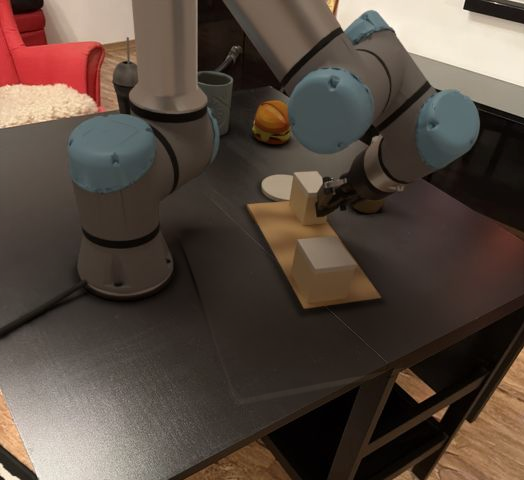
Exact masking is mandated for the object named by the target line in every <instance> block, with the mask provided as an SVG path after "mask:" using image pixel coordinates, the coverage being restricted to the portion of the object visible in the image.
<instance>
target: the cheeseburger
mask: <svg viewBox="0 0 524 480" xmlns="http://www.w3.org/2000/svg"><path fill="white" fill-rule="evenodd" d="M287 112H288V105H287V104H285V102H283V101H281V100H277V99H276V100H269V101H264V102H261V103H260V104H259V106H258V108H257V110H256V111H255V115H254V120H253V126H252V128H251V129H252V132H253V137H254V138H255V139H256V140H257V141H260V142H262V143H265V144H269V145H282V144H285V143H287V142H288V140H290V137H291V132H292V131H291V129H290V128H291V127H290V123H289V118H288V113H287Z"/></svg>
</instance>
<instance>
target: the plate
mask: <svg viewBox="0 0 524 480" xmlns="http://www.w3.org/2000/svg"><path fill="white" fill-rule="evenodd" d="M292 181H293V175H289V174H273V175H269V176H267V177H265V178H264V179H263V180H262V182H261V186H260V187H261V188H260V189H261V192H262V194H263V195H264V196H265V197H266V198H268V199H270V200H272V201H273V202H284V201H289V199H290V193H291V187H292Z"/></svg>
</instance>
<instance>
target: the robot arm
mask: <svg viewBox="0 0 524 480" xmlns="http://www.w3.org/2000/svg"><path fill="white" fill-rule="evenodd" d="M222 2H223V4H224V5H225V6H226V8H227V9H228V10H229V12H230V13H231V15H232V16H233V17H234V19H235V20H236V22H237V23H238V25H239V26H240V28H241V29H242V30H243V32H244V33H245V34H246V36H247V38H248V39H249V41H250V42H251V43H252V45H253V46H254V48H255V49H256V51H257V52H258V53H259V54H260V57H262V59H263V60H264V62H265V63H266V65H267V66H268V68H269V69H270V70H271V72H272V73H273V75H274V76H275V78H276V79H277V81H278V83H280V85H281V87H282V88H283V90H284V92H285V93H286V95H287V96H288V98H289V99H288V102H287V108H288V112H287V113H288V118H289V123H290V127H291V128H290V129H291V131H290V132H291V133H292V135H293V137H294V138H295V140H296V141H297V142H298V144H300V146H302V147H303V148H305V149H307V150H308V151H310V152H311V153H314V154H318V155H333V154H337V153H339V152H341V151H343V150H345V149H347V148H349V147H350V146H351V145H352V144H353V143H357V141H359V140H360V139H361V138H362V137H363V136H365V134H366V132H367V131H368V130H369V129H370V127H371V126H373V127H374V128H375V130H376V131H377V133H379V135H380V134H381V135H382V137H380V138H379V139H378V140H376V141H375V142H373V143H372V144H371V143H370V145H368V146H367V147H366V148H365V149H363V150H362V151H361V152H359V153H358V154H357V155H356V156H355V158H354V159H353V161H352V162H351V165H350V168H349V170H348V171H347V172H344V173H342V174H341V175H339V179H335V177H331V176H324V177H322V181H323V184H322V185H321V187H320V189H319V190H318V192H317V200H318V201H317V202H316V203H315V209H316V217H324V216H326V215H327V216H328V215H329V214H331V213H333V212H335V211H336V210H338V209H339V211H340V212H345V211H347V206H348V205H350V206H352V205H355V204H358V203H360V202H363V201H365V200H381V199H383V198H385V197H387V196H388V197H389V196H391V195H393V194H395V193H396V192H397V193H398V194H399V193H400V194H401V193H403V192H404V188H405V187H407V186H409V185H411V184H413V183H415V182H417V181H418V180H420V179H422V178H425V177H426V176H428V175H430V174H432V173H434V172H436V171H439V170H441V169H444V168H446V167H447V166H448V165H449V164H451V163H452V162H454V161H455V160H457V159H459V158H460V157H462V156H463V155H465V154H466V153H468V152H469V151H470V150H471V149H472V147H473V146H474V145H475V144H476V141H477V139H478V138H479V137H478V136H479V134H480V127H481V120H480V119H481V118H480V115H479V111H478V109H477V106H476V105H475V103H474V101H473V100H472V99H471V97H469V96H468V95H465V94H463V93H461V91H459V89H458V90H457V89H453V88H449V89H443V90H441V91H439V92H437V90H436V89H435V88H434V86H433V85H431V83H430V81H429V80H428V79H427V78H426V76H425V75H424V73H423V72H422V71H421V69H420V67H419V66H418V65H417V63H416V62H415V61H414V59H413V58H412V56H411V55H410V53H409V52H408V50H407V49H406V47H405V46H404V45H403V43H402V42H401V40H400V39H399V38H398V36H397V33H396V30H395V29H394V28H393V27H392V26H390V25H389V24H388V23H387V21H386V20H385V19H384V18H383V17H382V16H381V14H380V13H379V12H378V11H376V10H373V9H369V10H366V11H364V12H363V13H362V14H360V15H359V16H358V17H357V18H356V19H354V21H352V22H351V24H350V25H348V26H347V27H346V28H345V29H343V28H342V25H341V24H340V22H339V21H338V18H336V15H335V14H334V12H333V11H332V10H331V8H330V6H329V5H328V3H327V2H326V0H222ZM131 10H132V21H133V32H134V33H133V35H134V45H135V47H134V48H135V58H136V65H137V71H138V83H137V84H136V86H135V87H134V88H133V89H132V90H131V91H130V93H129V101H130V112H131V115H127V114H120V113H109V114H108V115H106V116H103V115H97V116H94V117H91V118H88V119H86V120H84V121H83V122H81V123H79V125H77V126H76V127H75V128H73V130H72V131H71V133H70V134H69V137H68V140H67V145H66V150H67V158H68V167H67V168H68V172H69V175H70V178H71V183H72V187H73V192H74V197H75V201H76V206H77V211H78V215H79V221H80V226H81V231H82V232H81V233H82V236H81V240H80V241H81V242H80V247H79V254H78V257H77V265H76V266H77V269H76V270H77V272H78V277H79V282H78V283H76V284H73V286H71V287H69V288H67V289H66V290H64V291H62V292H61V293H59V294H58V295H56V296H55V297H53V298H51V299H49V300H47V302H44V303H43V304H41V305H39V306H38V307H36V308H34V309H33V310H31V311H29V312H27V313H25V314H24V315H22V316H20V317H18V318H16V319H14V320H12V321H11V322H9V323H7V324H5V325H3V326H2V327H0V336H2V335H5V334H6V333H7V332H10V331H12V330H13V329H15V328H17V327H18V326H20V325H22V324H24V323H26V322H27V321H29V320H31V319H33V318H35V317H36V316H39V315H40V314H41V313H43V312H45V311H47V310H48V309H51V308H52V307H53V306H55V305H57V304H59V303H61V301H63V300H64V299H66V298H67V297H69V296H71V295H73V294H74V293H76V292H78V291H79V290H81V289H82V288H85V290H87V291H89V292H90V293H91V294H93V295H95V296H97V297H100V298H102V299H106V300H109V301H121V302H123V301H124V302H125V301H126V302H129V301H137V300H141V299H146V298H148V297H151V296H154V295H156V294H158V293H159V292H161V291H162V290H164V289H165V288H166V287H167V286H168V285H169V284H170V282H171V281H172V279H173V276H174V259H173V256H172V253H171V251H170V249H169V247H168V245H167V242H166V240H165V238H164V235H163V233H162V231H161V224H160V223H161V222H160V203H161V202H162V201H164V200H165V199H166V198H167V197H168V196H170V195H172V194H174V192H176V191H178V190H179V189H181V188H182V187H183V186H185V185H186V184H187V183H190V182H191V181H192V180H194V179H197V177H199V176H200V175H202V174H203V173H204V172H205V171H206V170H207V168H208V167H210V165H211V164H212V163H213V162H214V160H215V158H216V156H217V155H218V150H219V147H220V136H219V129H218V125H217V121H216V119H214V118H213V117H212V115H211V114H212V112H211V110H210V109H209V108H208V106H207V102H208V101H207V96H206V95H205V93H204V92H203V91H202V90H201V89H200V88H199V87H198V84H197V72H198V0H131ZM388 197H387V198H388Z"/></svg>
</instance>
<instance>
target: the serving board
mask: <svg viewBox="0 0 524 480" xmlns="http://www.w3.org/2000/svg"><path fill="white" fill-rule="evenodd" d="M246 210H247V212H248V214H249V216H250V217H251V219H252V221H253V222H254V224H255V225H258V227H259V229H260V231H261V232H262V234H263V236H264V238H265V240H266V242H267V244H268V245H269V247H270V249H271V251H272V253H273V255H274V256H275V259H276V260H277V262H278V264H279V266H280V268H281V269H282V271H283V273H284V275H285V277H286V279H287V281H288V282H289V284H290V286H291V287H292V290H293V291H294V294H295V296H297V297H296V298H297V299H298V300H299V302H300V304H301V307H302V308H303V309H312V308H320V307H326V306H333V305H340V304H347V303H354V302H355V303H356V302H362V301H370V300H375V299H383V298H382V296H381V294H380V293H379V292H378V290H377V289H376V287H374V284H373V283H372V282H371V281H370V279H369V277H368V276H367V275H366V274H365V272H364V271H363V269H362V268H361V267H360V265H359V264H358V262H357V261H356V260H355V258H354V256H352V254H351V253H350V251H349V250H348V249H347V247H346V246H345V243H344V242H342V240H341V239H340V237H339V236H338V235H337V233H336V231H334V229H333V228H332V226H331V224H330V223H329V222H328V221H327V220H326V224H315V225H304V226H303V225H302V224H301V222H300V221H299V219H298V218H297V216H296V215H295V213H294V212H293V210H292V209H291V207H290V206H289V201H284V202H277V201H271V202H259V203H257V202H256V203H247V204H246ZM328 236H336V237H337V238H338V240H339V241H340V242H341V244H342V245H343V247H344V248H345V249H346V251H347V252H348V254H349V255H350V256H351V258H352V259H353V261H354V262H355V263H356V267H355V270H354V273H353V277H352V280H351V283H350V286H349V290H348V293H347V296H346V298H344V299H337V300H330V301H322V302H315V303H307V302H306V300H305V298H304V296H303V294H302V293H301V291H300V289H299V287H298V285H297V284H296V282H295V280H294V278H293V277H292V275H291V270H292V265H293V259H294V254H295V248H296V243H297V239H307V238H317V237H328Z"/></svg>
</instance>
